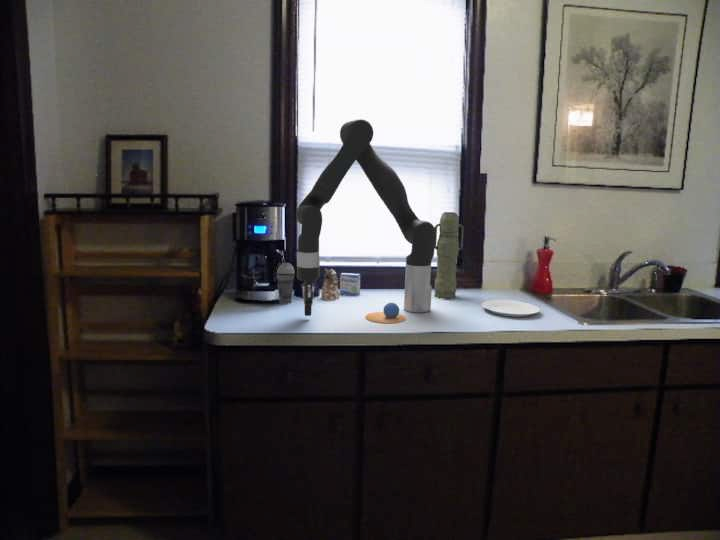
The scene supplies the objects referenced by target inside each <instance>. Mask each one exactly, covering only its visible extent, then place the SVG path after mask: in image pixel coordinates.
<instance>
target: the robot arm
mask: <svg viewBox="0 0 720 540" xmlns="http://www.w3.org/2000/svg"><path fill="white" fill-rule="evenodd" d="M339 137H340V141H341V143H342V146H341V147H340V149H339V151H337V154H336V155H335V156H334V158H333V159H331V161H330V162H329V163H328V164H327V166H326V167H325V168H324V169H323V170H322V172H321V173H320V175H319V176H318V178H317V180H316V182H314V185H313V186H312V189H311V190H310V191H309V193H308V194H307V195H306V196H305V197H304V199H303V200H302V201H301V202H300V204H299V206H298V207H297V208H296V212H295V219H296V221H297V222H298V223H299V224H300V225H301V228H300V229H301V231H300V234H299V236H298V238H297V256H296V279H298V280H299V281H303V283H302V284H301V288H302V289H301V290H302V298H303V304H304V316H305V317H311V316H312V305H313V302H314V295H315V294H314V291H315V284H314V283H313V281H317V280H319V279H320V272H321V271H320V268H321V265H320V263H321V262H320V261H321V257H320V236H321V231H322V227H323V226H322V225H323V214H322V211H321V210H322V208H323V206H324V205H327V204H328V203H329V202H330V201H331V199H332V198H333V196H334V195H335V194H336V191H337V190H338V188H339V186H340V185H341V183H342V181H343V179H344V178H345V176H346V174H347V173H348V171H349V170H350V169H351V167H352V166H353V165H354V163H355V162H357V164H358V165H359V166H360V167H361V169H362V171H363V173H364V174H365V176H366V178H367V179H368V181H369V182H370V184H371V185H372V187H373V188H374V191H375V192H376V193H377V195H378V197H379V198H380V200H381V201H382V202H383V203H384V205H385V206H386V208H387V209H388V212H390V214H391V215H392V217H393V219H394V220H395V222H396V224H397V225H398V228H399V229H400V231H401V234H402V236H403V238H404V239H405V240H406V241H407V242H408V243H409V244H411V251H410V253H409V254H407V256H406V258H405V274H404V275H405V276H404V277H405V279H404V298H403V299H404V302H403V309H404V310H405V311H406V312H409V313H418V314H419V313H426V312H431V311H432V310H431V309H432V308H431V307H432V292H433V291H432V289H433V287H432V284H431V275H432V260H433V259H434V255H435V250H436V249H435V239H436V233H435V228H434V227H435V225H433V224H432V223H431V222H429V221H426V220H421V219H419V217H418V216H417V215H416V214H415V212H414V211H413V209H412V207H411V205H410V204H409V199H408V194H407V190H406V188H405V187H406V186H404V184H403V181H401V179H400V177H399V175H398V174H397V172H396V171H395V170H394V169H393V168H392V167H391V165H389V164H388V163H387V162H386V161H385V160H384V159H383V158H382V157H381V156H379V154H378V153H377V151H376V150H375V149H374V148H373V145H372V144H371V142H372V141H373V137H374V129H373V126H372V124H371V123H370V122H369V121H368V120H366V119H362V118H359V119H353V120H349V121H346V122H345V123H343V125H341V128H340V130H339Z"/></svg>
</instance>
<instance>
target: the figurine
mask: <svg viewBox="0 0 720 540" xmlns="http://www.w3.org/2000/svg"><path fill="white" fill-rule="evenodd" d="M324 272H325V273H324V274H323V284H322V288H321V295H320V296H321V300H324V299H325V300H324V301H337V300H336V299H338V300H340V290H339V277H338V276H337V275H338V274H337V273H336V271H335V270H334V269H333V268H330V269H328V268H325V269H324Z"/></svg>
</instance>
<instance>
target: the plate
mask: <svg viewBox="0 0 720 540" xmlns="http://www.w3.org/2000/svg"><path fill="white" fill-rule="evenodd" d="M481 306H482V307H483V308H485V309H487V310H488V311H490V312H492V313H493V314H496V315H498V316H503V315H504V317H510V316H511V317H513V318H515V317H516V318H519V317H520V318H521V317H522V318H523V317H527V316H531V315H534V314H537V313H539V312H540V310H541V309H540V308H539V307H538V306H536V305H535V304H531V303H528V302H523V301H517V300H508V299H493V300H485V301H484V302H482V303H481ZM492 308H495V309H496V310H497V311H498V310H499V311H500V310H501V311H502V312H497V311H493V310H491V309H492Z"/></svg>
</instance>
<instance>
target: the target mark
mask: <svg viewBox="0 0 720 540" xmlns="http://www.w3.org/2000/svg"><path fill="white" fill-rule="evenodd" d="M365 319H366V320H367V321H369V322H371V323H372V322H373V323H377V324H378V323H379V324H385V325H386V324H387V325H388V324H400V323H402V322H405V321H406V319H407V318H406V316H405V315H403V314H400V313H399V314H398V316H397V317H395V318H392V319H391V318H388V317H386V316H385V314H384V311H379V312H378V311H377V312H371V313H368V314H365Z"/></svg>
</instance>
